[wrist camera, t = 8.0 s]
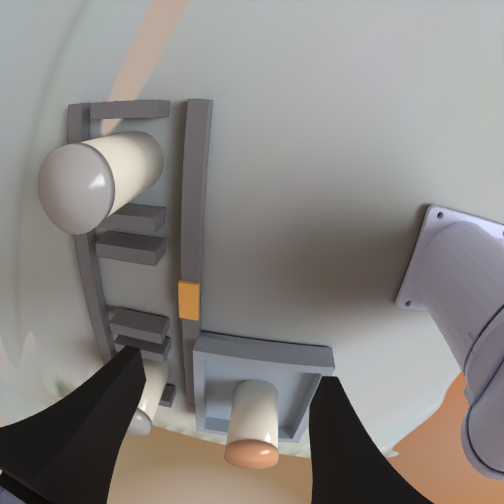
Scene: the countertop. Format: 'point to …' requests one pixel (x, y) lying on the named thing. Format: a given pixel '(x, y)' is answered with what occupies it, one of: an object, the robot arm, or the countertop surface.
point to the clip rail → (148, 241)
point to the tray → (256, 368)
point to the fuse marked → (253, 426)
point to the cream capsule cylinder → (97, 178)
